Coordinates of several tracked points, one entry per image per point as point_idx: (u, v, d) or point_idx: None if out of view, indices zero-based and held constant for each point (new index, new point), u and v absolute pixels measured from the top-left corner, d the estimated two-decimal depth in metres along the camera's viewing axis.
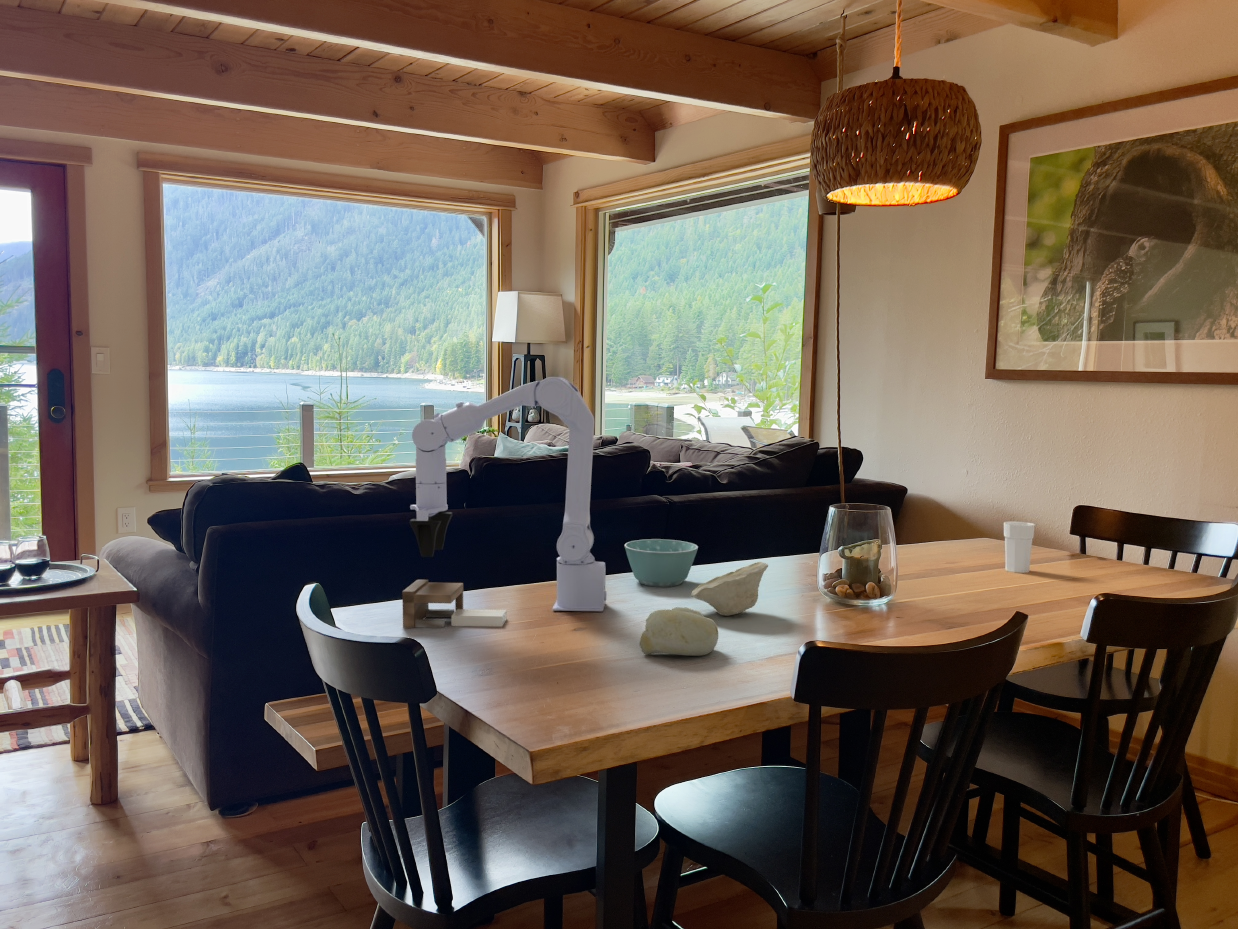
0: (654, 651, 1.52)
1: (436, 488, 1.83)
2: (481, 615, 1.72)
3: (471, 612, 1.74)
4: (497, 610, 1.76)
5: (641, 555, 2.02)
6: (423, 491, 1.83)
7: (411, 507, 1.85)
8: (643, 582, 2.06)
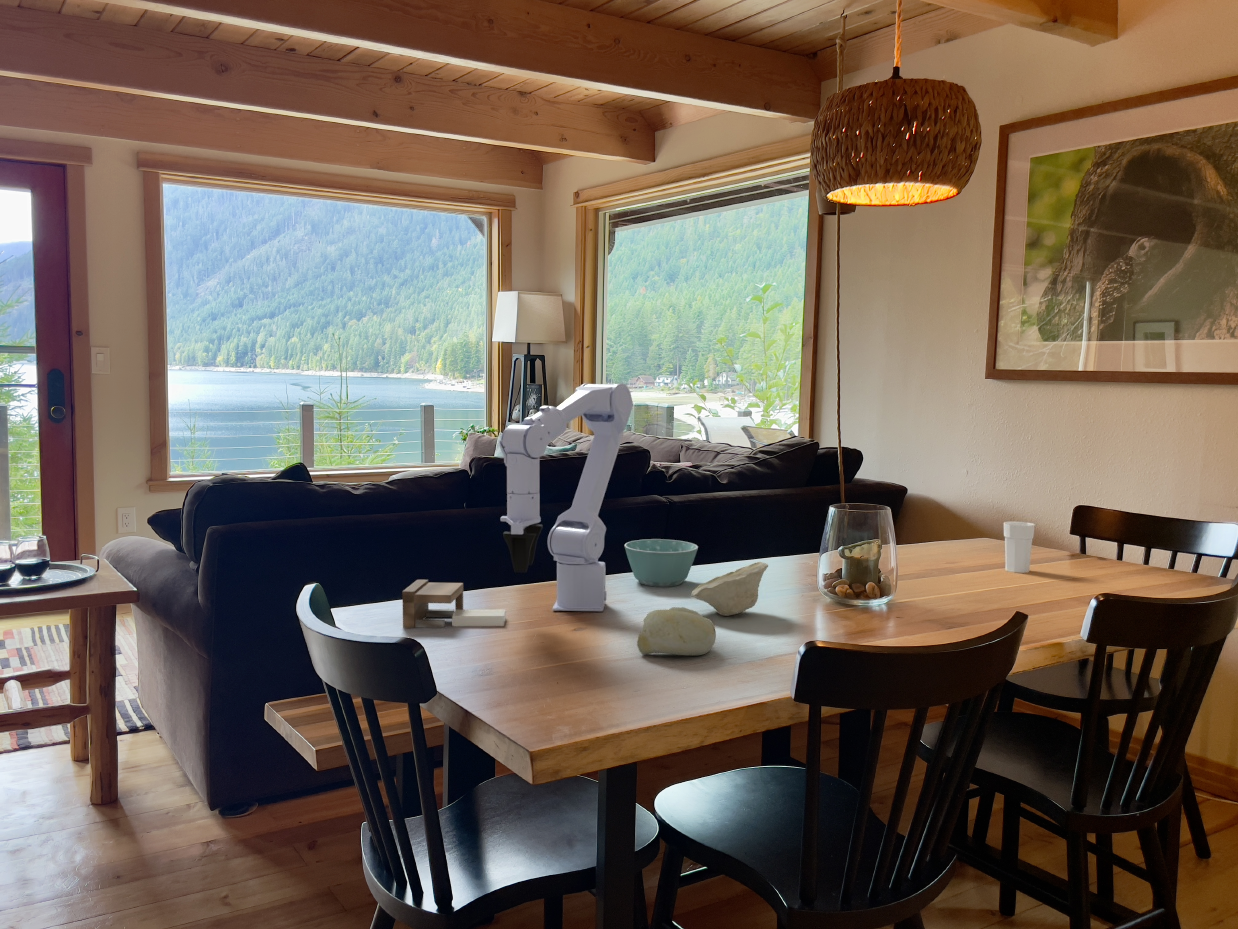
0: (651, 651, 1.52)
1: (530, 498, 1.69)
2: (482, 615, 1.72)
3: (471, 612, 1.74)
4: (496, 610, 1.76)
5: (641, 555, 2.02)
6: (516, 502, 1.69)
7: (502, 519, 1.71)
8: (643, 582, 2.06)
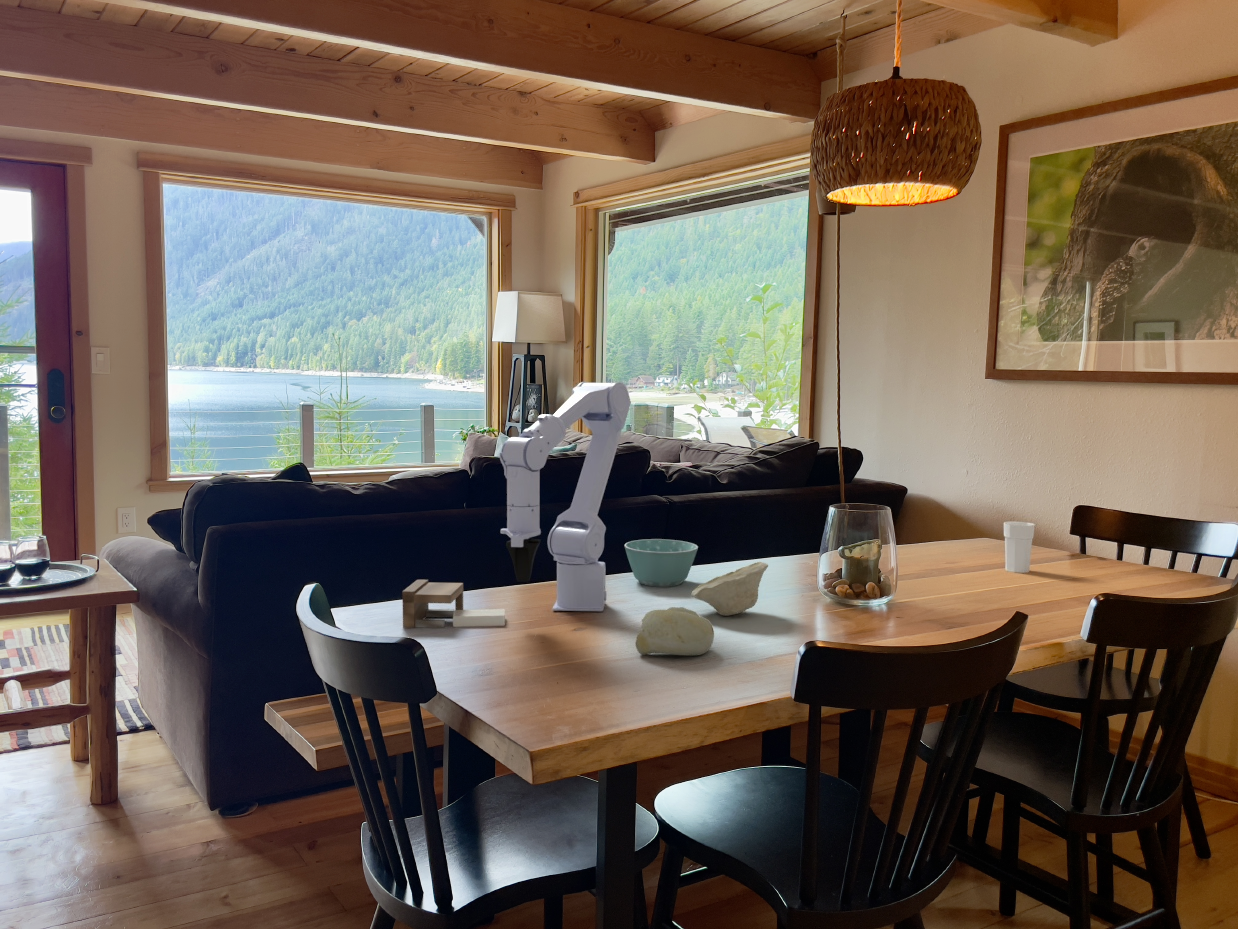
0: (650, 651, 1.52)
1: (530, 511, 1.69)
2: (483, 615, 1.72)
3: (471, 612, 1.74)
4: (496, 609, 1.76)
5: (641, 555, 2.02)
6: (516, 515, 1.69)
7: (502, 531, 1.71)
8: (643, 582, 2.06)
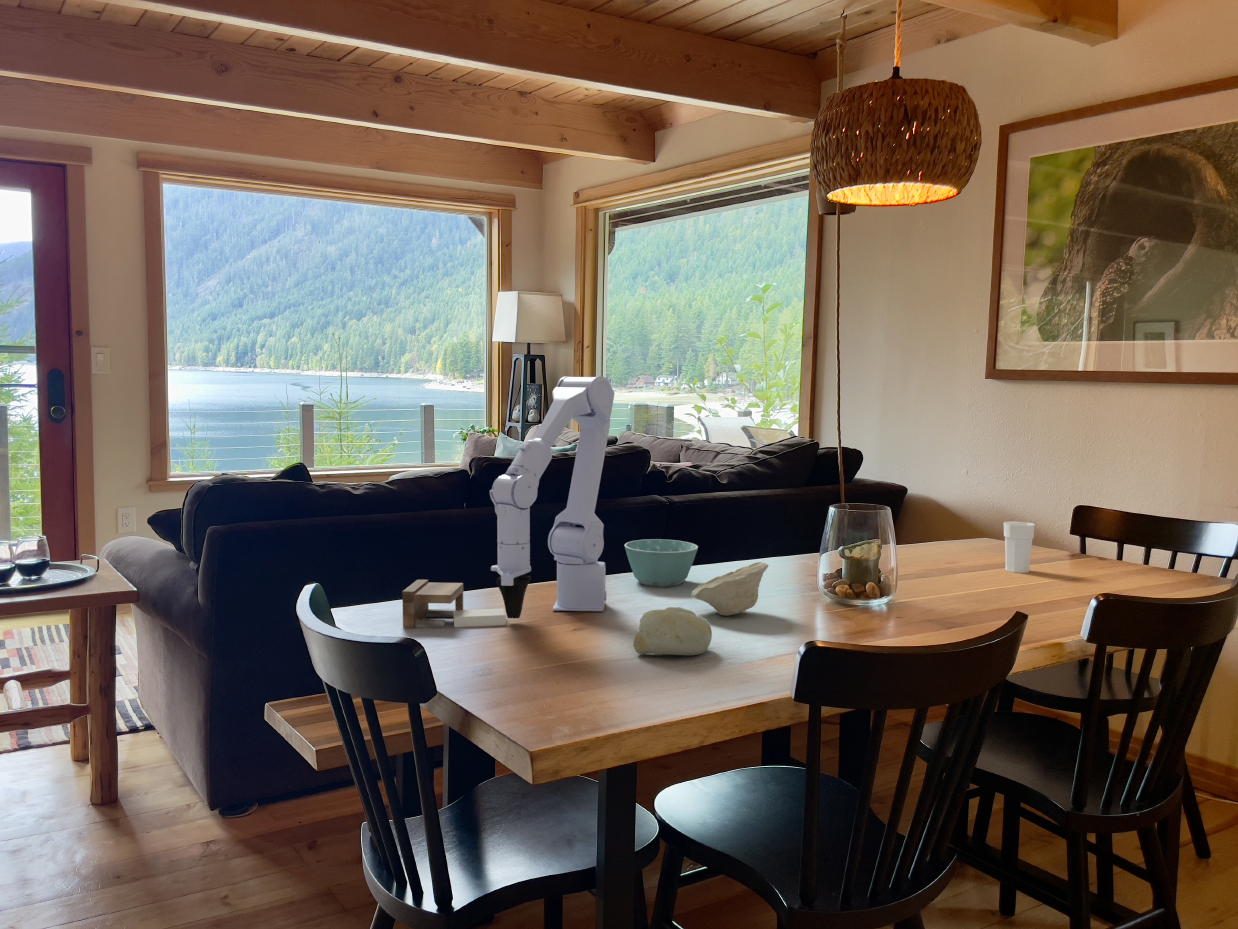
0: (648, 651, 1.52)
1: (520, 549, 1.70)
2: (484, 615, 1.72)
3: (471, 612, 1.74)
4: (495, 609, 1.76)
5: (641, 555, 2.02)
6: (506, 552, 1.70)
7: (492, 568, 1.72)
8: (643, 582, 2.06)
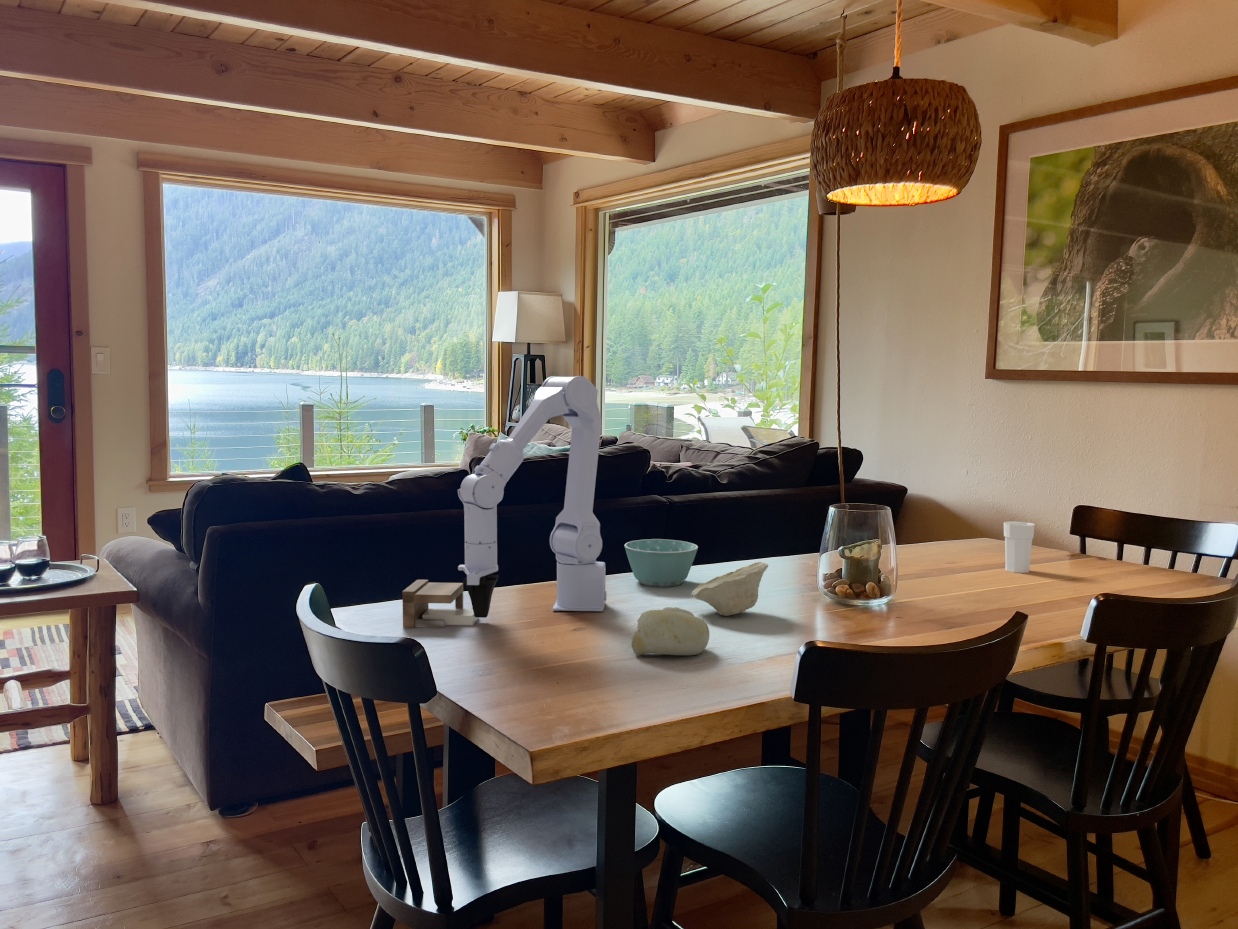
0: (646, 651, 1.52)
1: (487, 548, 1.70)
2: (452, 614, 1.73)
3: (442, 611, 1.75)
4: (469, 609, 1.76)
5: (641, 555, 2.02)
6: (473, 552, 1.70)
7: (459, 568, 1.72)
8: (643, 582, 2.06)
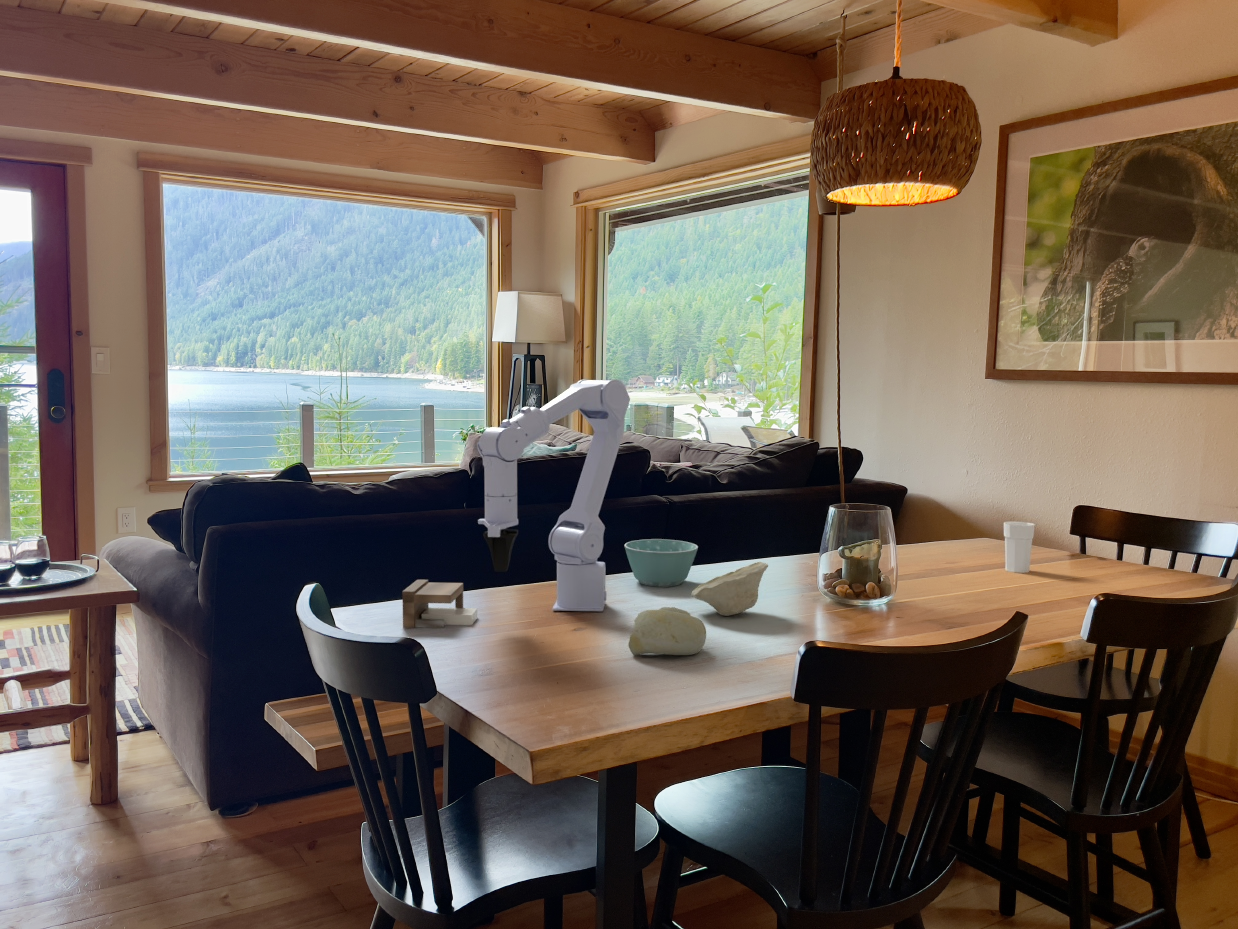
0: (643, 651, 1.52)
1: (507, 501, 1.69)
2: (451, 614, 1.73)
3: (442, 610, 1.75)
4: (468, 609, 1.77)
5: (641, 555, 2.02)
6: (493, 505, 1.69)
7: (479, 521, 1.71)
8: (643, 582, 2.06)
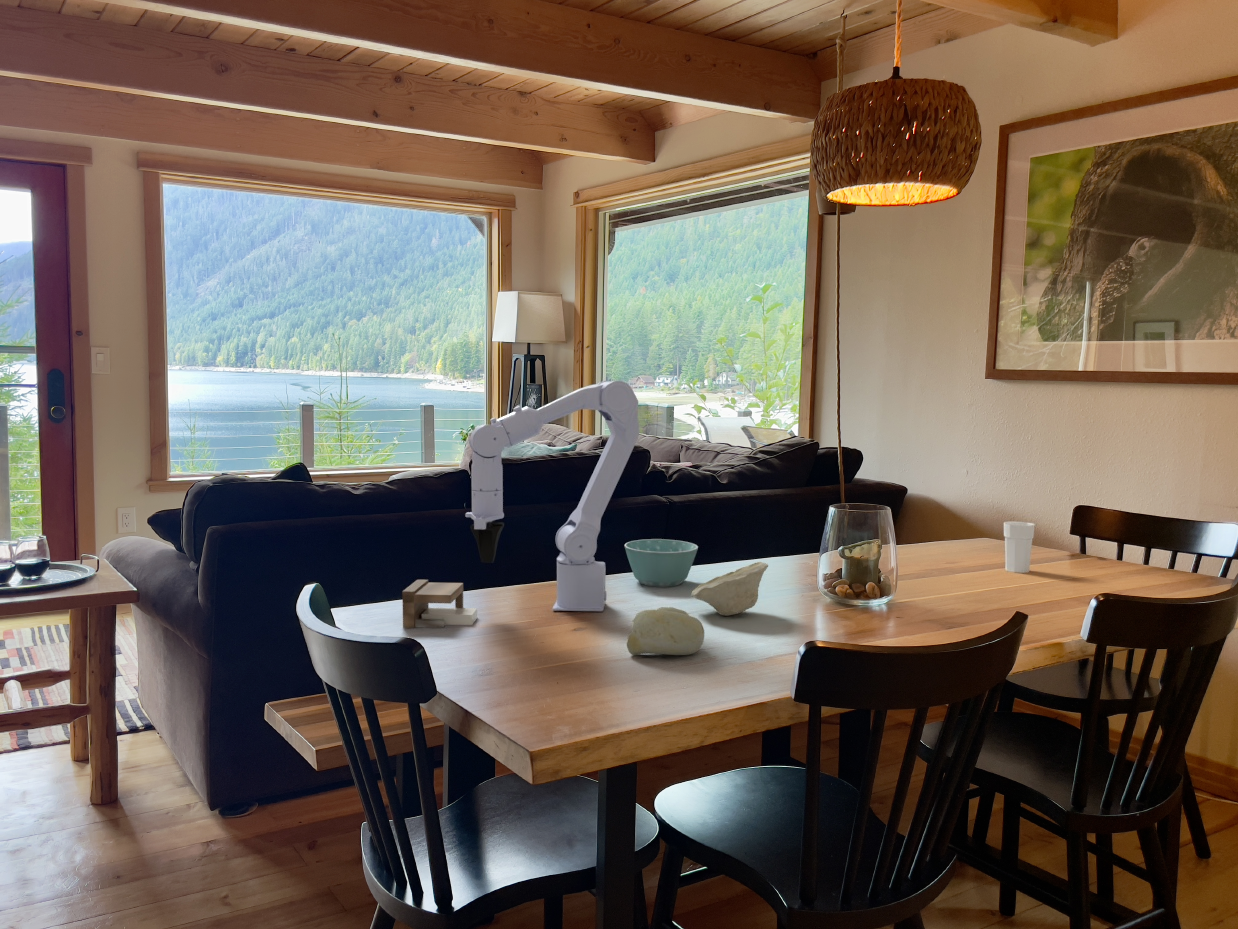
0: (642, 651, 1.52)
1: (493, 495, 1.78)
2: (451, 613, 1.73)
3: (441, 611, 1.75)
4: (468, 609, 1.77)
5: (641, 555, 2.02)
6: (480, 499, 1.77)
7: (466, 515, 1.80)
8: (643, 582, 2.06)
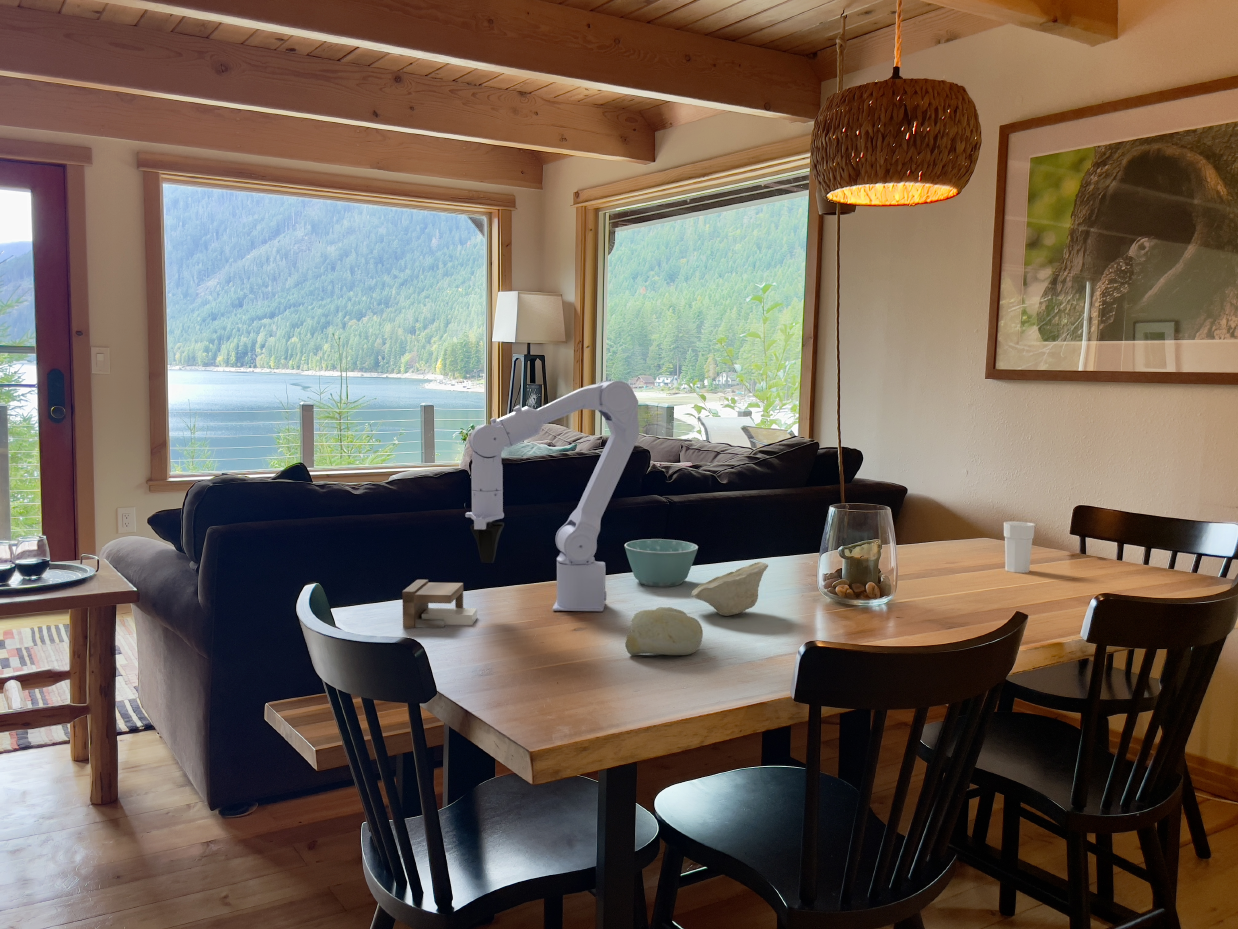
0: (640, 651, 1.52)
1: (493, 495, 1.78)
2: (451, 613, 1.73)
3: (441, 611, 1.75)
4: (468, 609, 1.77)
5: (641, 555, 2.02)
6: (480, 499, 1.77)
7: (466, 515, 1.80)
8: (643, 582, 2.06)
